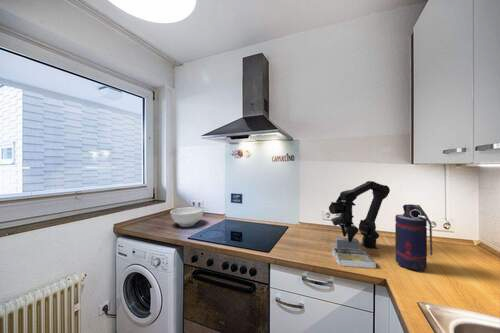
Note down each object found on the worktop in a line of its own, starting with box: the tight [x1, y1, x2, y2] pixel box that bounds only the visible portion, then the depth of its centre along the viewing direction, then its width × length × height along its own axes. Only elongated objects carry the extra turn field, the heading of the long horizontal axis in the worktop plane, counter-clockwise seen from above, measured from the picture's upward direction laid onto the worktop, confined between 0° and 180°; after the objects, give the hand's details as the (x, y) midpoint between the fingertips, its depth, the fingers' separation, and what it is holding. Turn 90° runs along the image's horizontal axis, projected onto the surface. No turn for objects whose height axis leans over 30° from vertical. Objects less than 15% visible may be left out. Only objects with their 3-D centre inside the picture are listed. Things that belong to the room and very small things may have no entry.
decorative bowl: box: [169, 206, 205, 228], centre depth 164 cm, size 27×27×12 cm
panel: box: [334, 236, 360, 249], centre depth 116 cm, size 12×4×6 cm, turn 81°
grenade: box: [394, 203, 433, 273], centre depth 95 cm, size 14×12×30 cm
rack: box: [330, 247, 377, 269], centre depth 102 cm, size 16×15×4 cm
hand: (346, 239), depth 116 cm, fingers open, 9 cm apart
